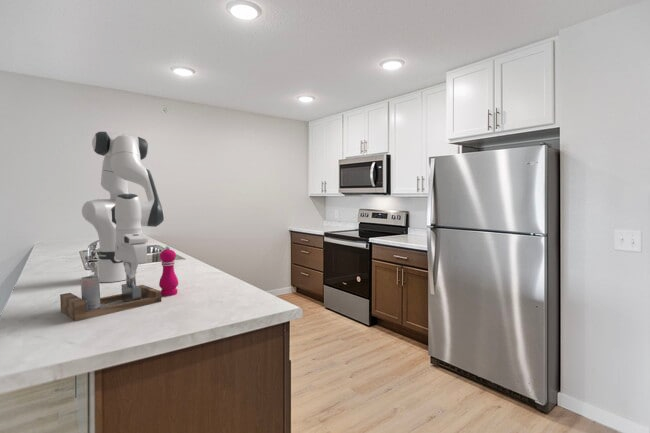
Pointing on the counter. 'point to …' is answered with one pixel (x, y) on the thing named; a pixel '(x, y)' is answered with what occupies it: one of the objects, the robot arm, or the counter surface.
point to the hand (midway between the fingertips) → (130, 273)
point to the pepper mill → (168, 273)
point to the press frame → (77, 309)
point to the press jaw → (130, 286)
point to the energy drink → (90, 292)
